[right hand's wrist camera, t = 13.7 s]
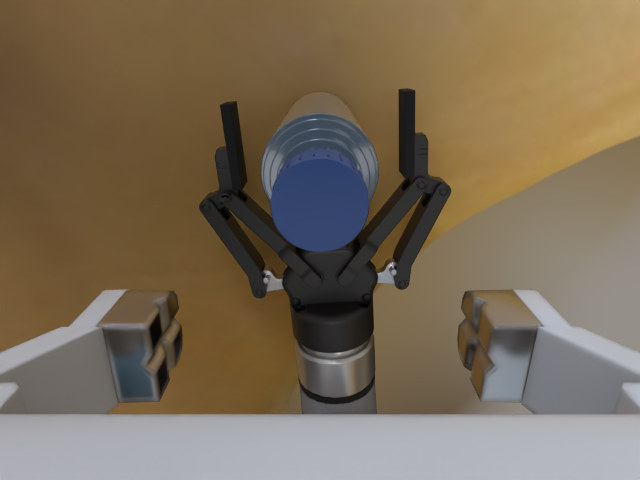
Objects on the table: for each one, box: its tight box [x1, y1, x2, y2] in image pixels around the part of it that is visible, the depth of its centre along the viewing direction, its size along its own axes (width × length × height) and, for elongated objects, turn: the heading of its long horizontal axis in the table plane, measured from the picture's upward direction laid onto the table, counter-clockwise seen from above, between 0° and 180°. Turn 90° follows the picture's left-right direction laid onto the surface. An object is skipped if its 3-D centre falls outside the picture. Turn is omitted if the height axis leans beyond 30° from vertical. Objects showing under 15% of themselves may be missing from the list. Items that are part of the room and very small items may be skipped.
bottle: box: [261, 92, 379, 202], centre depth 29 cm, size 6×6×24 cm
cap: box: [270, 148, 369, 252], centre depth 19 cm, size 4×4×2 cm
